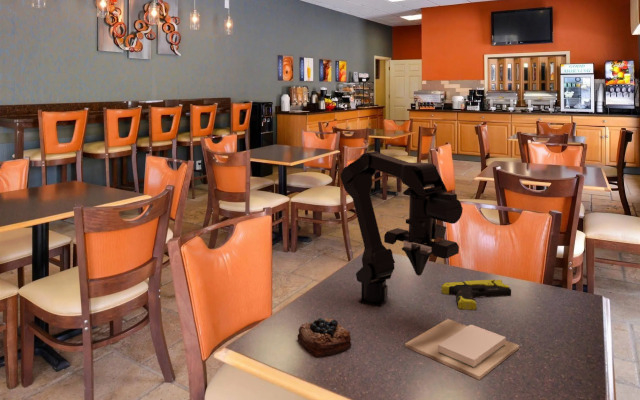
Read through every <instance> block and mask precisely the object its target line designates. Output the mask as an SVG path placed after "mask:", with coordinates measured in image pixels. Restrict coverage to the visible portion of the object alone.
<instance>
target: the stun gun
mask: <svg viewBox="0 0 640 400" xmlns="http://www.w3.org/2000/svg"><path fill="white" fill-rule="evenodd" d="M440 289H441V293H442V294H443V295H447V296H449V295H450V296H451V295H453V296H454V295H455V296H456V297H455V301H456V303H457V307H458V309H459V310H461V309H462V310H470V311H471V310H472V311H473V310H476V309H477V301H476V299H475V298H478V297H479V298H480V297H486V298H491V297H493V298H494V297H508V296H510V297H511V295H512V289H511V287H510V286H509V285H508V284H505V283H503V281H502V279H497V280H496V279H478V280H477V279H476V280H464V281H453V282H452V281H451V282H449V281H448V282H444V283H443V284H442V285H441V288H440Z"/></svg>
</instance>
